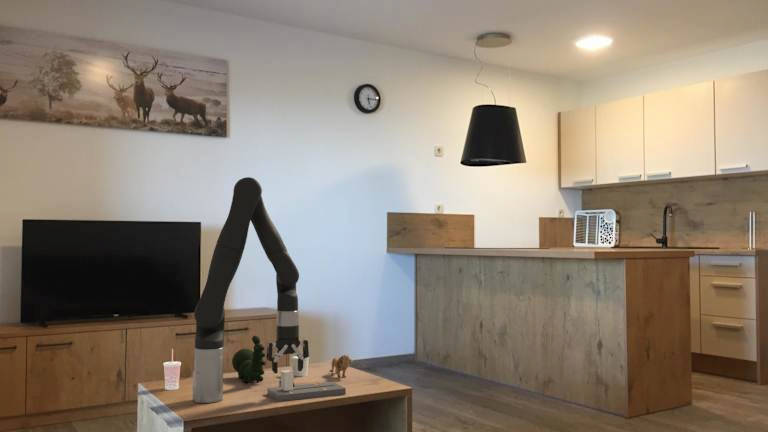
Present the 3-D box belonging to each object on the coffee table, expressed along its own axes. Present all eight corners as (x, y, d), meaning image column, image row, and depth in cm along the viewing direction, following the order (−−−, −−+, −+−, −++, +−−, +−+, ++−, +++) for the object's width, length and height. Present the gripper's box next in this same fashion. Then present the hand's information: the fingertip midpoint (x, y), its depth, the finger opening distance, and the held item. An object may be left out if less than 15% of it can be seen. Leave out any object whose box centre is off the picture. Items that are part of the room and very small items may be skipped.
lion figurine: (354, 378, 254) (354, 355, 254) (342, 380, 251) (342, 356, 251) (334, 372, 266) (335, 349, 266) (323, 373, 263) (323, 350, 263)
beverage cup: (182, 389, 235) (183, 349, 236) (165, 391, 232) (165, 350, 232) (178, 385, 240) (179, 346, 241) (161, 387, 237) (161, 348, 238)
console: (278, 401, 217) (278, 395, 217) (267, 393, 228) (267, 387, 228) (345, 394, 228) (345, 388, 228) (332, 387, 239) (332, 381, 239)
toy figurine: (270, 389, 242) (249, 371, 264) (273, 338, 241) (251, 324, 263) (245, 392, 237) (226, 373, 259) (247, 340, 236) (228, 325, 258)
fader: (284, 396, 223) (284, 372, 223) (280, 393, 226) (281, 370, 226) (293, 395, 224) (293, 372, 224) (289, 393, 227) (289, 370, 228)
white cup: (307, 376, 257) (307, 358, 258) (290, 376, 257) (290, 358, 258) (309, 373, 264) (310, 355, 264) (292, 373, 264) (292, 355, 264)
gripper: (270, 326, 219) (270, 376, 219) (311, 323, 226) (311, 371, 225) (264, 324, 226) (264, 372, 225) (303, 321, 232) (304, 368, 232)
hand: (287, 371), depth 225 cm, fingers open, 8 cm apart
